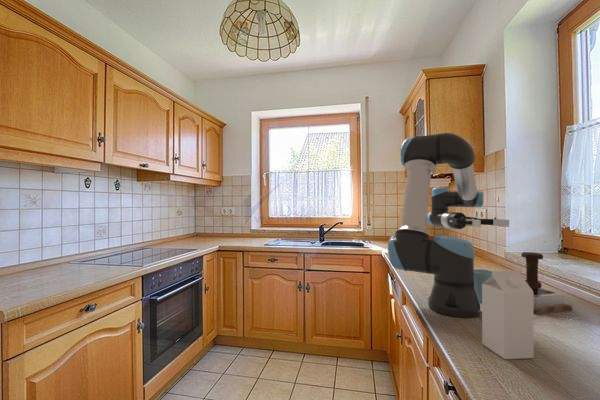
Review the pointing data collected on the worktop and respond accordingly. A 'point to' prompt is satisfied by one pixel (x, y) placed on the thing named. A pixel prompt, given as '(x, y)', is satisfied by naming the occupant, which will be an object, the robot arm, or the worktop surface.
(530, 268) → the bolt
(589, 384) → the worktop surface
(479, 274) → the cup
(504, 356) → the milk carton
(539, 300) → the hinge base
